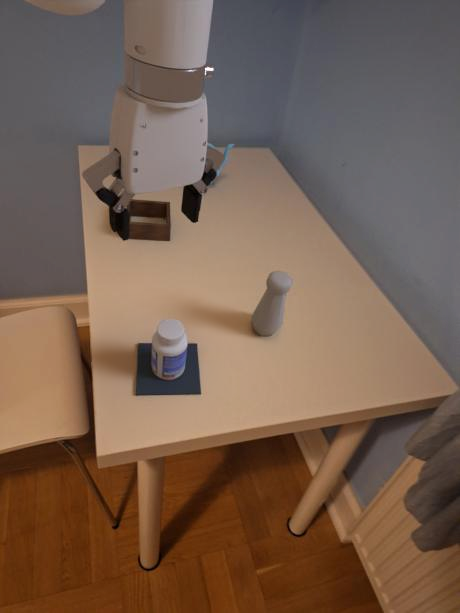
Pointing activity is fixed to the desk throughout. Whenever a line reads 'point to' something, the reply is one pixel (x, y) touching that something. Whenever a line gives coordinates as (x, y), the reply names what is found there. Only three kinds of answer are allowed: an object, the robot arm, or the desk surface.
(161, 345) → the pill bottle
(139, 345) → the mat
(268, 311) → the salt shaker
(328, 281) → the desk surface
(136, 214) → the caddy
